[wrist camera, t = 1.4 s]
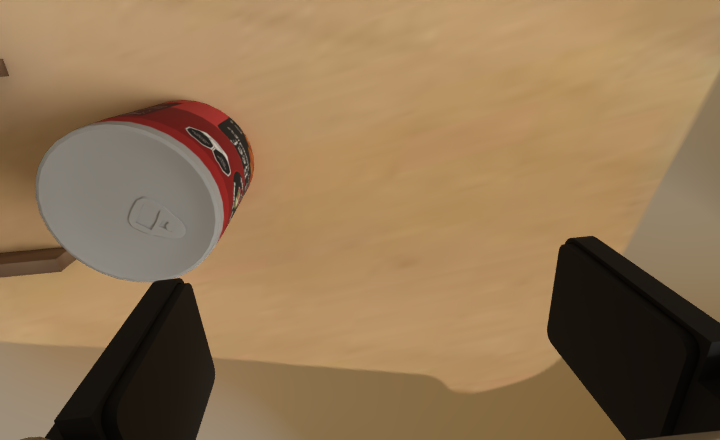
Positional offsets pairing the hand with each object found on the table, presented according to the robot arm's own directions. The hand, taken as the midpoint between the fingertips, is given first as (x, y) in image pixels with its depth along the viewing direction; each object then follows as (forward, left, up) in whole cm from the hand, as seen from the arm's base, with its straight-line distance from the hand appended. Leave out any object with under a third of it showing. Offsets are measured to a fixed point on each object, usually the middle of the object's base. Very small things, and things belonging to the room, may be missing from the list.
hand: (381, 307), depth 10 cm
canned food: (0, -10, -20) cm, 23 cm away
